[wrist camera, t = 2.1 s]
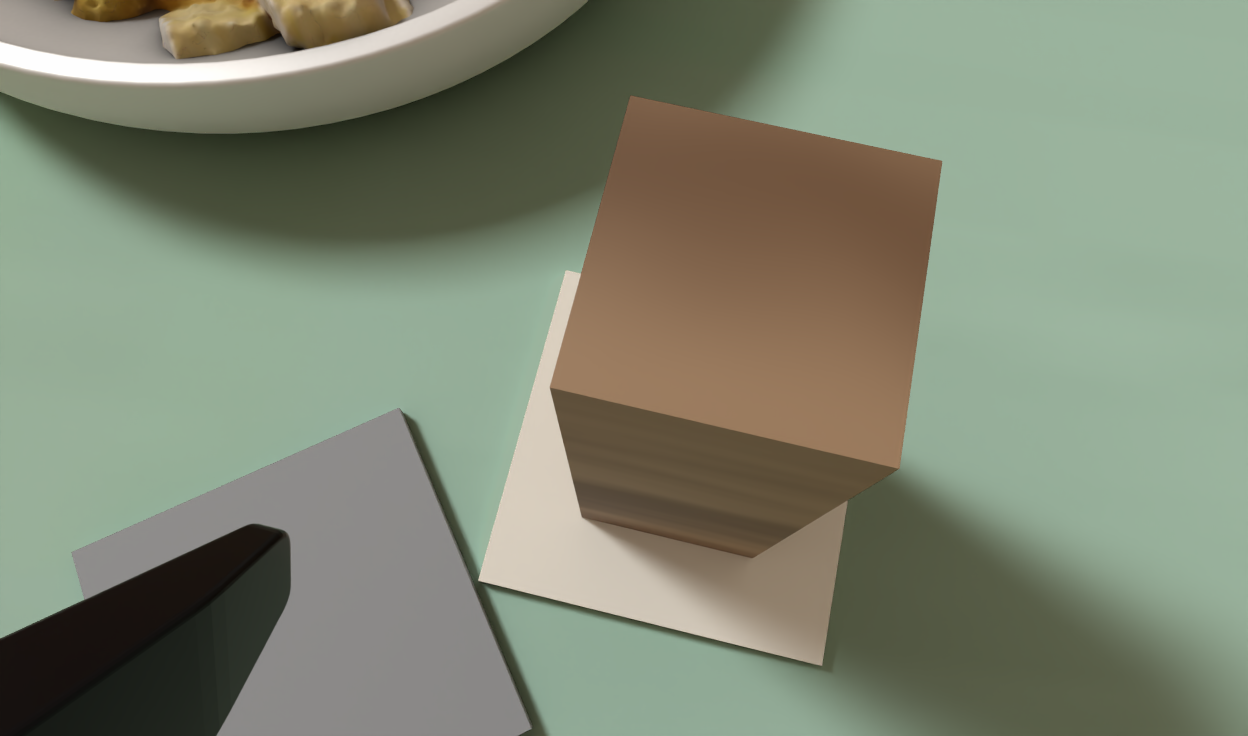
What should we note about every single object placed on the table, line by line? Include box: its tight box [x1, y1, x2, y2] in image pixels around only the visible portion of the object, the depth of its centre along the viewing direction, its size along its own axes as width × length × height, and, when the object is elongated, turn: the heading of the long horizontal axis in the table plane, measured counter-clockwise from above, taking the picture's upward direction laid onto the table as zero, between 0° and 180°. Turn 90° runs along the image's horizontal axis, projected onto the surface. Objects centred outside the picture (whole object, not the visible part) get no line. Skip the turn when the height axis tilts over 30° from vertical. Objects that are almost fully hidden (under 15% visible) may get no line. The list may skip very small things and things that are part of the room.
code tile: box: [478, 270, 848, 666], centre depth 23 cm, size 9×9×1 cm
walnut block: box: [550, 95, 942, 558], centre depth 17 cm, size 5×5×12 cm
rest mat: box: [71, 408, 533, 736], centre depth 22 cm, size 9×9×1 cm
